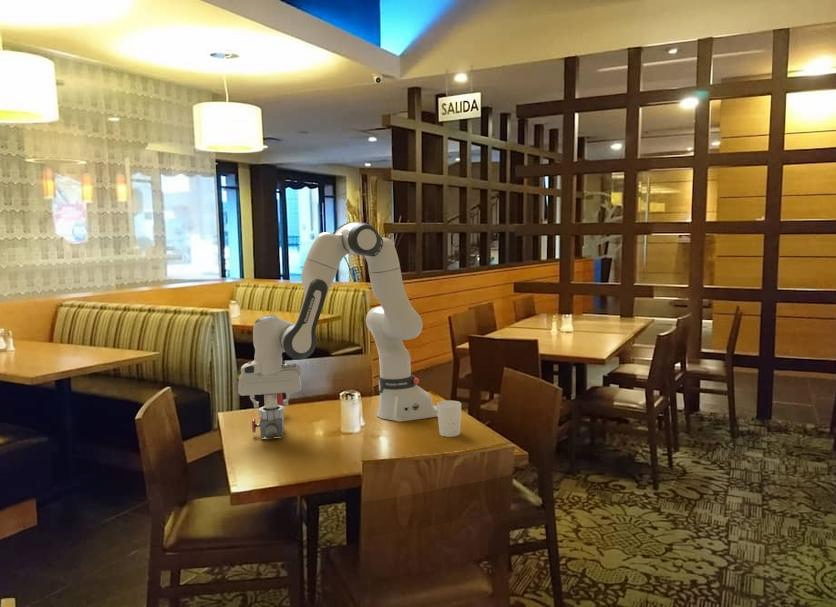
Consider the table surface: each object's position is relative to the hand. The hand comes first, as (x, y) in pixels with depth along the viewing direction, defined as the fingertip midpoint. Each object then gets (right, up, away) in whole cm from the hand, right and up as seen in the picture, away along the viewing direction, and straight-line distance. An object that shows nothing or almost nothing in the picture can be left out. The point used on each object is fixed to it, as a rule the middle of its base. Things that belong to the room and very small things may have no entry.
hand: (271, 406), depth 210 cm
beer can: (-5, -7, +24) cm, 26 cm away
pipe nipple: (0, -4, 0) cm, 4 cm away
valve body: (-1, -10, +1) cm, 10 cm away
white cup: (+59, -8, -4) cm, 60 cm away
